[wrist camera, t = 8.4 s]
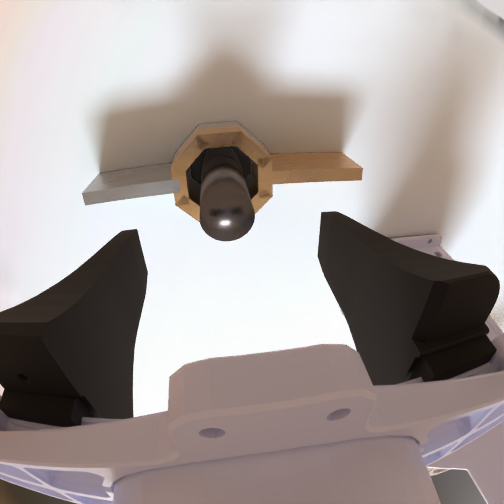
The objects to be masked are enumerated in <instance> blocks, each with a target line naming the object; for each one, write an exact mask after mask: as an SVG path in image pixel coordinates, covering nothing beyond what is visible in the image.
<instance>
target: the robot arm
mask: <svg viewBox="0 0 504 504" xmlns="http://www.w3.org/2000/svg"><path fill="white" fill-rule="evenodd" d="M429 239H430V240H429ZM441 239H442V238H441V236H440V235H439V234H432V235H422V236H412V237H401V238H391V239H389V238H387V237H385V236H383V235H381V234H379V233H377V232H375V231H373V230H372V229H370V228H368V227H366V226H364V225H362V224H360V223H359V222H357V221H355V220H353V219H351V218H349V217H347V216H345V215H343V214H341V213H339V212H336V211H334V212H321V223H320V235H319V246H318V259H319V262H320V265H321V268H322V271H323V273H324V276H325V278H326V280H327V282H328V284H329V286H330V288H331V290H332V292H333V294H334V296H335V298H336V300H337V302H338V304H339V306H340V308H341V313H342V315H344V316H345V318H346V320H347V323H348V325H349V328H350V331H351V334H352V337H353V340H354V343H355V346H356V349H357V351H355V350H354V349H352V348H350V347H349V346H347V345H343V344H319V345H313V346H307V347H300V348H293V349H286V350H279V351H272V352H264V353H255V354H247V355H237V356H227V357H216V358H208V359H204V360H200V361H196V362H192V363H187V364H185V365H183V366H182V367H181V368H180V369H179V370H177V371H176V372H175V373H174V374H172V375H171V376H170V380H169V400H168V411H164V412H160V413H155V414H150V415H145V416H139V417H134V418H133V362H134V348H135V341H136V335H137V331H138V326H139V321H140V317H141V312H142V308H143V303H144V299H145V294H146V286H147V275H148V271H147V268H146V264H145V260H144V256H143V252H142V248H141V244H140V240H139V235H138V231H137V229H133V230H125V231H121V232H120V233H119V234H117V235H116V236H115V237H114V238H112V239H111V240H110V241H109V242H108V243H107V244H106V245H104V246H103V247H102V248H101V249H100V250H99V251H98V252H97V253H95V254H94V255H93V256H92V257H91V258H90V259H88V260H87V261H86V262H85V263H84V264H82V265H81V266H80V267H79V268H78V269H76V270H75V271H74V272H72V273H71V274H70V275H68V276H67V277H66V278H64V279H63V280H61V281H60V282H58V283H57V284H55V285H54V286H52V287H50V288H49V289H47V290H45V291H44V292H42V293H40V294H39V295H37V296H35V297H33V298H31V299H29V300H27V301H25V302H23V303H21V304H19V305H17V306H15V307H12V308H10V309H7V310H5V311H2V312H0V384H1V385H2V386H3V388H5V389H4V392H3V395H2V396H1V395H0V479H2V480H5V481H8V482H10V483H13V484H16V485H19V486H22V487H25V488H28V489H31V490H34V491H37V492H40V493H43V494H46V495H49V496H52V497H56V498H59V499H63V500H66V501H70V502H74V503H78V504H441V503H440V501H439V498H438V496H437V493H436V490H435V487H434V485H433V482H432V479H431V477H430V474H429V472H428V469H427V468H436V469H464V470H467V471H468V473H469V475H470V476H471V478H472V479H473V481H474V483H475V484H476V486H477V488H478V489H479V491H480V493H481V494H482V496H483V498H484V499H485V501H486V503H487V504H504V333H503V332H502V330H501V329H500V328H499V327H498V325H497V324H496V323H495V321H494V320H493V319H492V318H491V316H490V315H489V314H490V313H491V311H492V309H493V307H494V305H495V303H496V300H497V298H498V295H499V289H500V284H499V280H498V278H497V277H496V275H495V274H494V273H493V272H492V271H491V270H490V269H489V268H488V267H486V266H483V265H477V264H470V263H463V262H458V261H454V260H453V259H452V257H451V256H450V255H449V254H448V253H447V252H446V251H445V250H444V249H443V248H442V247H441V246H440V243H441ZM428 240H429V241H428Z"/></svg>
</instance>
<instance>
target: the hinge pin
mask: <svg viewBox="0 0 504 504" xmlns="http://www.w3.org/2000/svg"><path fill="white" fill-rule="evenodd" d="M199 218H200V224H201V227H202V228H203V230H204V231H205V233H206V234H208V235H209V236H210V237H212V238H214V239H216V240H220V241H233V240H236V239H239V238H241V237H243V236H244V235H245V234H246V233H248V231H249V230H250V229H251V227H252V225H253V223H254V219H255V212H254V208H253V205H252V202H251V198H250V195H249V192H248V189H247V185H246V182H245V179H244V176H243V172H242V169H241V166H240V163H239V159H238V157H237V155H236V153H235V152H234V151H233V150H232V149H230V148H228V147H217V148H212V149H210V150H209V151H208V152H207V153H206V154H205V156H204V158H203V162H202V177H201V195H200V215H199Z"/></svg>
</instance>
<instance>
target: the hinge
mask: <svg viewBox="0 0 504 504" xmlns="http://www.w3.org/2000/svg"><path fill="white" fill-rule="evenodd" d="M229 146H236V147H237V148H239V149H240V150H241V151H242V152H243V153H245V154H246V155H247V156H248V157H249V158H250V159H251V173H250V174H249V176H248V177H247V178H246V179H245V182H246V185H247V189H248V192H249V195H250V198H251V202H252V205H253V208H254V212H255V213H256V212H257V211H258V210H259V209H260V208H261V207H262V206H263V205H264V204H265V203H266V202H267V201H268V200H269V199H270V198H271V197H272V196H273V195H272V184H284V183H302V182H324V181H354V180H362V171H363V168H362V167H361V166H359V165H358V164H357V163H355V162H354V161H353V160H351V159H350V158H349V157H347V156H346V155H345V154H343V153H342V152H320V153H286V154H269V152H268V151H267V149H266V148H265V146H264V145H263V143H261V142H260V141H259V140H257V139H256V138H255V137H254V136H253V135H252V134H251V133H249V132H248V131H247V130H246V129H245V128H244V127H242V126H241V125H240V124H239V123H238V122H237V121H230V122H217V123H206V124H199V125H198V126H197V127H196V129H195V130H194V131H193V132H192V133H191V134H190V136H189V137H188V138H187V139H186V140H185V141H184V143H183V144H182V145H181V146H180V147H179V149H178V150H177V151H176V153H175V155H174V158H173V161H172V163H166V164H158V165H151V166H144V167H137V168H130V169H124V170H117V171H111V172H105V173H100V174H98V176H97V177H96V178H95V179H94V180H93V181H92V182H91V183H90V185H89V186H88V187H87V188H86V189H85V190H84V191H83V193H82V195H83V199H84V203H85V205H90V204H97V203H103V202H110V201H117V200H124V199H131V198H138V197H146V196H154V195H162V194H170V193H174V196H175V203H176V204H175V205H176V206H178V207H179V208H180V209H182V210H183V211H185V212H186V213H188V214H189V215H190V216H192V217H193V218H195V219H196V220H197V221H199V222H200V218H199V215H200V195H201V185H200V184H199V183H198V182H196V181H195V180H194V179H192V177H191V168H190V165H191V164H192V163H193V162H194V160H195V159H196V158H197V157H198V156H199V155H200V154H201V152H202V151H203V150H204V149H206V148H217V147H229Z"/></svg>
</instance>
